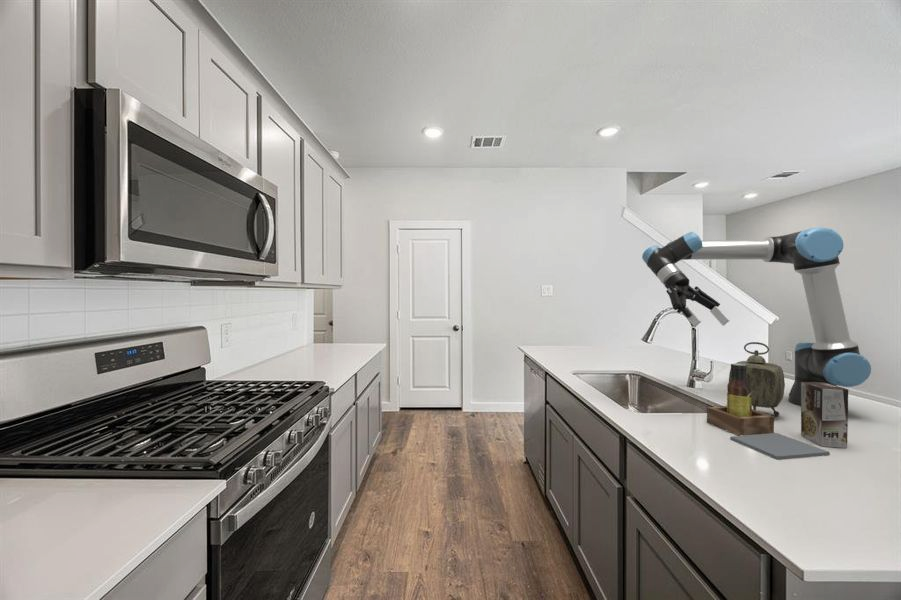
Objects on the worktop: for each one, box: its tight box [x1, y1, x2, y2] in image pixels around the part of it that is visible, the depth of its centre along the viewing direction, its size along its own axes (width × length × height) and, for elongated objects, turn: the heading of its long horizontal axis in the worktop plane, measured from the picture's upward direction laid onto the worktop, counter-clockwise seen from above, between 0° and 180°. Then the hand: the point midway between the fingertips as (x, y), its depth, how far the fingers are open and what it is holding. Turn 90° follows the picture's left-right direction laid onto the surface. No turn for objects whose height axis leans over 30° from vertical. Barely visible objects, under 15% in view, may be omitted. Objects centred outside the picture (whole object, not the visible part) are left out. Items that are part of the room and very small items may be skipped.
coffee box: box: [800, 382, 849, 449], centre depth 113 cm, size 9×6×16 cm
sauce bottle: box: [726, 362, 753, 417], centre depth 125 cm, size 7×6×20 cm
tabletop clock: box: [728, 341, 786, 417], centre depth 138 cm, size 14×9×25 cm, turn 43°
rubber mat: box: [729, 432, 831, 460], centre depth 110 cm, size 16×14×1 cm
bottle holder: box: [706, 405, 775, 436], centre depth 125 cm, size 12×12×5 cm
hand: (712, 323), depth 133 cm, fingers open, 13 cm apart
